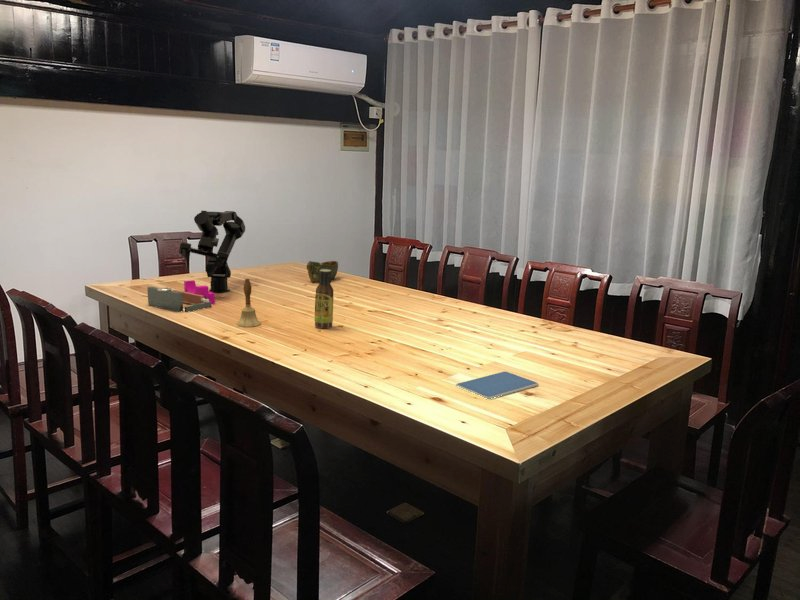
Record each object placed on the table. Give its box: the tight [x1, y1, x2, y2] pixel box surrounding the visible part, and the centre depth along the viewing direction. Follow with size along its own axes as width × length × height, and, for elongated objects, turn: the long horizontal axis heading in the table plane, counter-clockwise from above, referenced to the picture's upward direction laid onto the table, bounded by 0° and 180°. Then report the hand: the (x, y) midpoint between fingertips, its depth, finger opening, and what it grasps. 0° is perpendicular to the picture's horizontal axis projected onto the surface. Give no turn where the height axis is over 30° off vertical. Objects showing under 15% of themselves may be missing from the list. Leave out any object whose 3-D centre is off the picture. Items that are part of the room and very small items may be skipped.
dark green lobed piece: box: [306, 260, 339, 284], centre depth 308 cm, size 13×20×10 cm, turn 123°
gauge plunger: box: [171, 289, 209, 304], centre depth 251 cm, size 2×20×4 cm, turn 56°
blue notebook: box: [455, 370, 539, 400], centre depth 170 cm, size 19×13×1 cm, turn 128°
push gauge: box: [147, 286, 212, 313], centre depth 248 cm, size 15×22×8 cm
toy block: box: [183, 279, 216, 305], centre depth 257 cm, size 15×6×8 cm, turn 39°
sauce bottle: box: [314, 269, 334, 329], centre depth 222 cm, size 6×6×20 cm
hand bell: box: [236, 278, 262, 328], centre depth 223 cm, size 8×8×16 cm
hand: (199, 271), depth 256 cm, fingers open, 9 cm apart
